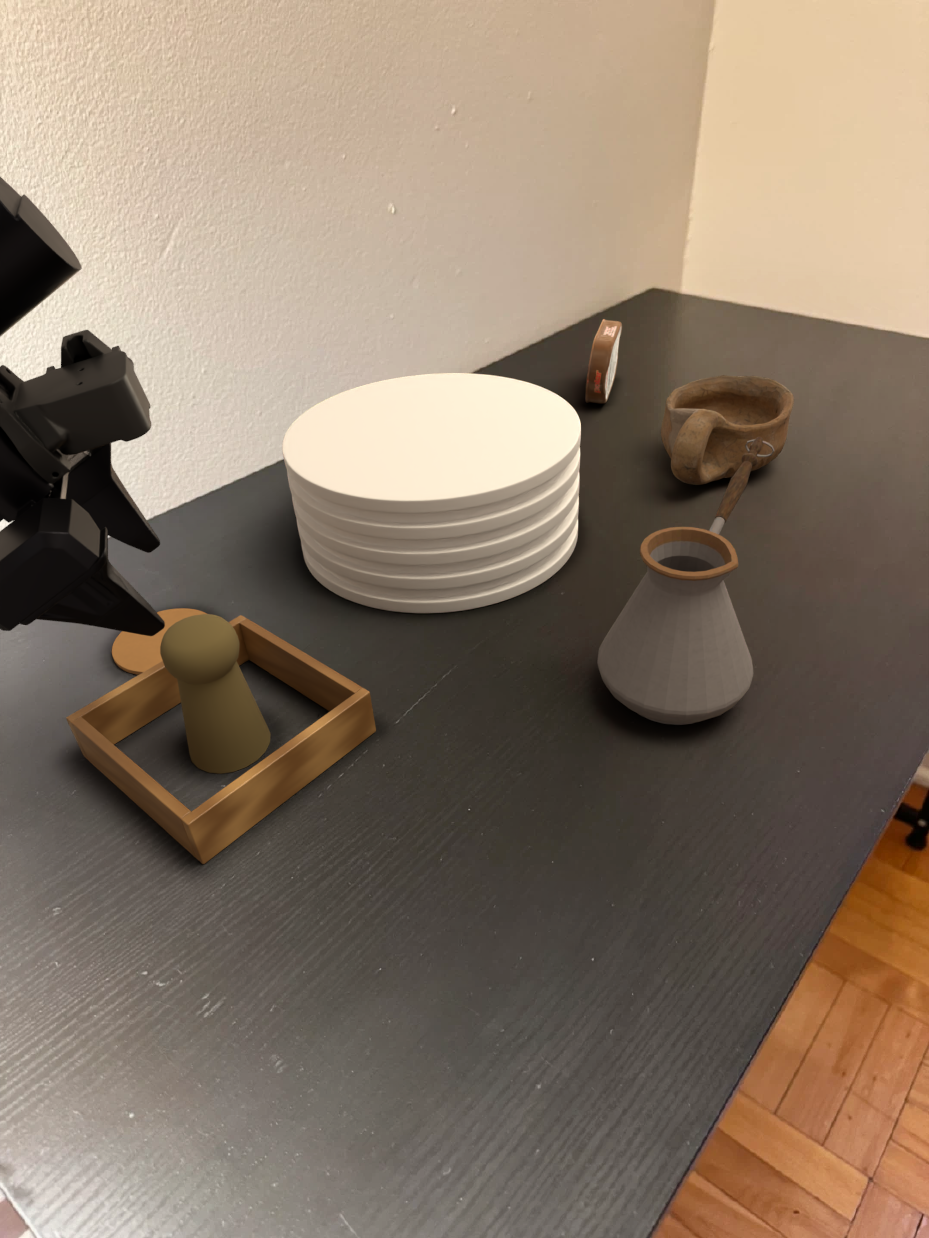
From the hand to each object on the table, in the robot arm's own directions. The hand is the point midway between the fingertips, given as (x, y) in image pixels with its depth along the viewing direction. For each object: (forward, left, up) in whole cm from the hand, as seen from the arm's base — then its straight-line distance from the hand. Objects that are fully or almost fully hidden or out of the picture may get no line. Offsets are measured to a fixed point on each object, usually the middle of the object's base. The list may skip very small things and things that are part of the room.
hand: (157, 586), depth 52 cm
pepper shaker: (+2, +1, -16) cm, 16 cm away
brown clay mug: (+62, -7, -16) cm, 64 cm away
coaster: (+6, +16, -16) cm, 23 cm away
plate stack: (+34, +9, -16) cm, 39 cm away
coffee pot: (+32, -21, -16) cm, 41 cm away
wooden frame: (+2, +1, -16) cm, 16 cm away
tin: (+74, +16, -16) cm, 77 cm away
